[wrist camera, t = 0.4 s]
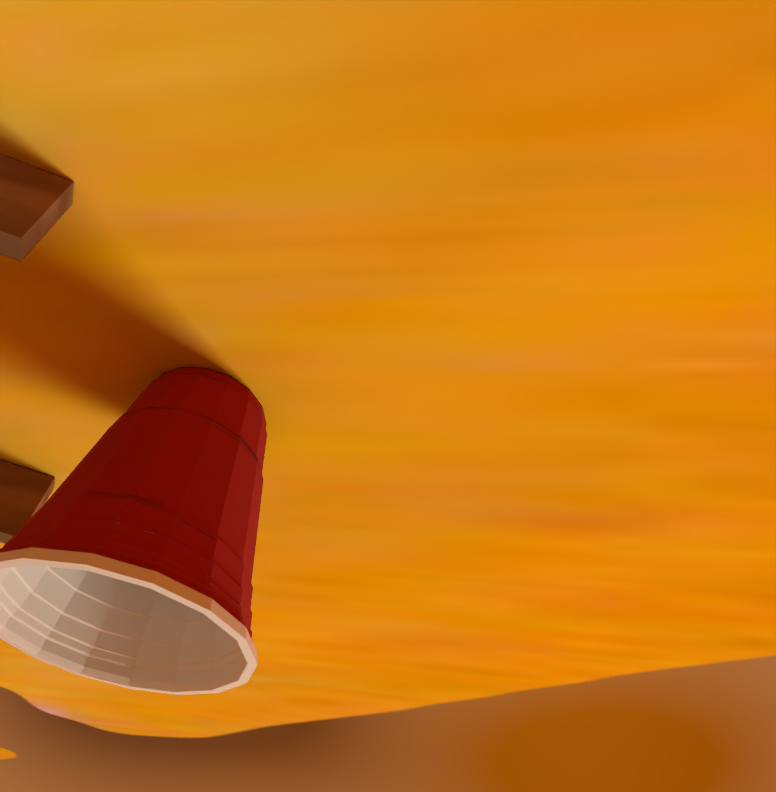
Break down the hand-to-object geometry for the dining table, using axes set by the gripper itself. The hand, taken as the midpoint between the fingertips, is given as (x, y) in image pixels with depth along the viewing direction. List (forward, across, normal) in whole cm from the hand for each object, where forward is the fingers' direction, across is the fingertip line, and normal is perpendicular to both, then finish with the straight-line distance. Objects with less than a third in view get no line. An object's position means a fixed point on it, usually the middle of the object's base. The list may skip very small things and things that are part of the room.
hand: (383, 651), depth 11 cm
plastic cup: (+25, -7, -4) cm, 26 cm away
